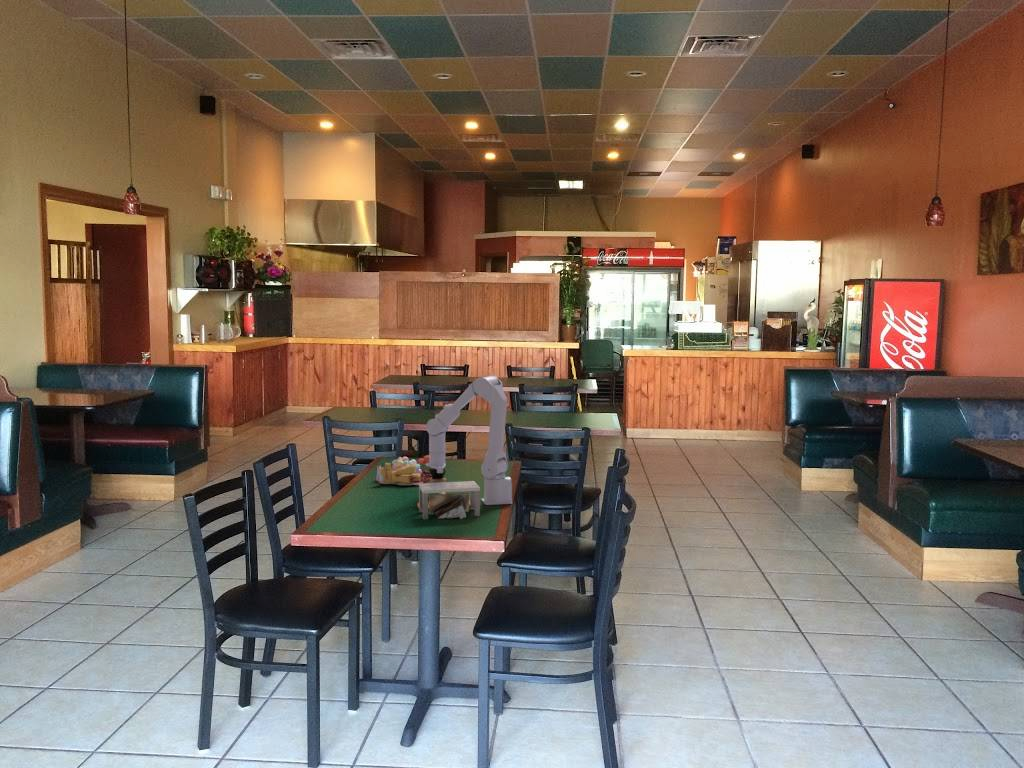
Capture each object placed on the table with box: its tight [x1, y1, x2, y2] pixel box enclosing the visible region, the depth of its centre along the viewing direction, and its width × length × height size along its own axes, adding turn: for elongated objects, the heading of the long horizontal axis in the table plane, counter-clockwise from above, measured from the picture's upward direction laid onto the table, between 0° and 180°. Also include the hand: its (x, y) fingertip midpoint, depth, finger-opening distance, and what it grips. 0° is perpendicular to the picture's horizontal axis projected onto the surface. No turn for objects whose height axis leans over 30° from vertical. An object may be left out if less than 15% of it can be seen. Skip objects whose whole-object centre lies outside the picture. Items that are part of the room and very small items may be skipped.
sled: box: [428, 477, 470, 515], centre depth 279 cm, size 13×25×6 cm, turn 14°
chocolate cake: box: [431, 492, 467, 521], centre depth 264 cm, size 10×7×12 cm
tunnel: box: [418, 480, 481, 520], centre depth 268 cm, size 19×10×10 cm, turn 104°
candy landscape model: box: [375, 454, 433, 486], centre depth 318 cm, size 25×24×9 cm
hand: (437, 488), depth 293 cm, fingers closed
